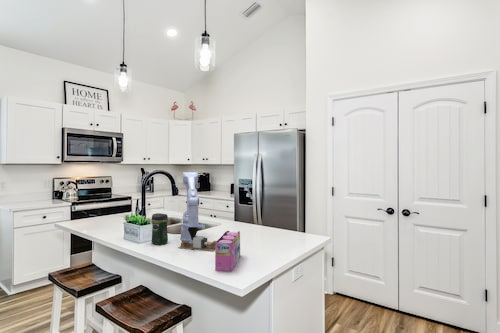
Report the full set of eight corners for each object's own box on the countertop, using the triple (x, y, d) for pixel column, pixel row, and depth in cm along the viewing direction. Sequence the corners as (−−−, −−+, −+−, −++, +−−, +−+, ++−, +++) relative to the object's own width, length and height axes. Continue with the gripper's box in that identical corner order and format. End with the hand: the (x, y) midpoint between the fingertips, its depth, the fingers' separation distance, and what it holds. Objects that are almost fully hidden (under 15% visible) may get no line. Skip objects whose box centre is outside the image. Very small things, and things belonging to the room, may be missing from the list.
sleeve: (193, 247, 168) (193, 237, 168) (196, 245, 173) (196, 235, 173) (201, 248, 167) (201, 238, 167) (204, 245, 172) (204, 236, 172)
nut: (200, 248, 167) (201, 240, 167) (204, 245, 172) (204, 237, 172) (203, 248, 167) (203, 240, 167) (207, 245, 172) (207, 237, 172)
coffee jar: (170, 242, 180) (170, 213, 180) (160, 246, 173) (160, 215, 173) (158, 240, 185) (158, 211, 184) (149, 243, 178) (149, 213, 177)
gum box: (226, 254, 158) (227, 230, 158) (241, 255, 157) (241, 230, 157) (214, 270, 135) (214, 242, 134) (231, 272, 133) (231, 242, 133)
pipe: (181, 244, 172) (181, 240, 172) (183, 243, 174) (183, 239, 174) (214, 247, 167) (214, 243, 167) (215, 246, 169) (215, 242, 169)
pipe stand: (178, 248, 169) (178, 241, 169) (185, 244, 177) (185, 237, 177) (213, 251, 163) (213, 243, 163) (218, 246, 172) (218, 239, 172)
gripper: (179, 217, 169) (178, 240, 169) (201, 219, 165) (201, 242, 165) (184, 215, 176) (184, 237, 176) (206, 216, 172) (206, 239, 172)
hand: (193, 239), depth 171 cm, fingers closed
